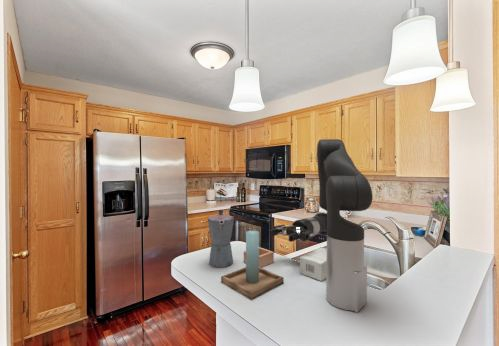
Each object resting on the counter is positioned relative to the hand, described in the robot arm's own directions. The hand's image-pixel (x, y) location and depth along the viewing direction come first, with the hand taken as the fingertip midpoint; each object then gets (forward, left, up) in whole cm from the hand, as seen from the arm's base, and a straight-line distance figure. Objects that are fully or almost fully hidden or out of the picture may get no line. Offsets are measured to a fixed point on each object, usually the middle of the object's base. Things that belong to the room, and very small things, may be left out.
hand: (279, 235), depth 82 cm
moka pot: (+20, +11, -12) cm, 25 cm away
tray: (0, +13, -12) cm, 18 cm away
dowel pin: (0, +13, -11) cm, 17 cm away
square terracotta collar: (+10, 0, -12) cm, 16 cm away
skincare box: (-10, -3, -9) cm, 14 cm away
